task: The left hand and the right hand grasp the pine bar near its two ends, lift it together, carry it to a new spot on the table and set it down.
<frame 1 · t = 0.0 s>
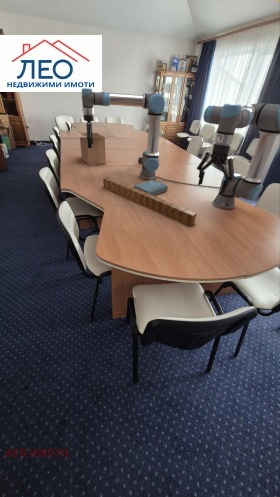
left hand: (90, 146, 173), 28 cm above the table, tool pointing down, fingers open, 13 cm apart
right hand: (210, 188, 114), 28 cm above the table, tool pointing down, fingers open, 13 cm apart
box: (93, 161, 237), on the table
book: (150, 191, 179), on the table
laser sight: (148, 164, 240), on the table
bar: (143, 203, 159), on the table
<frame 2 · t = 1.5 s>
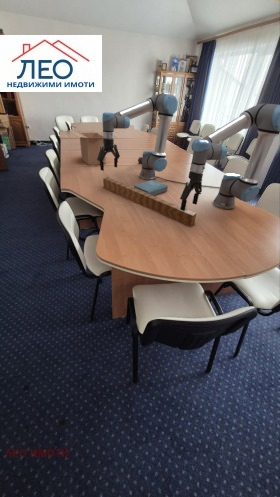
left hand: (109, 168, 169), 16 cm above the table, tool pointing down, fingers open, 13 cm apart
right hand: (188, 206, 134), 11 cm above the table, tool pointing down, fingers open, 13 cm apart
nothing on the table moved.
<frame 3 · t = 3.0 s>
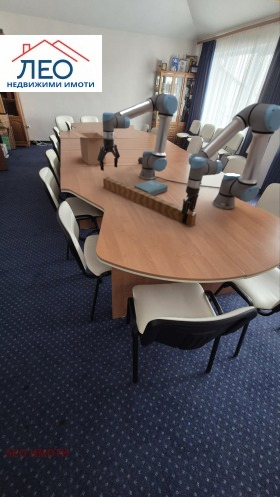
left hand: (109, 168, 169), 16 cm above the table, tool pointing down, fingers open, 13 cm apart
right hand: (185, 221, 140), 1 cm above the table, tool pointing down, fingers closed on bar, 5 cm apart
bar: (143, 203, 159), on the table, touching right hand
everything else where it was.
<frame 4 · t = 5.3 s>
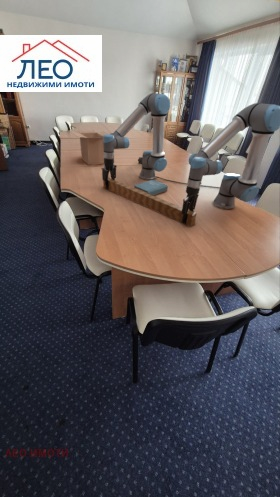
left hand: (109, 188, 178), 1 cm above the table, tool pointing down, fingers closed on bar, 5 cm apart
right hand: (185, 221, 140), 1 cm above the table, tool pointing down, fingers closed on bar, 5 cm apart
bar: (143, 203, 159), on the table, touching left hand, right hand
everything else where it was.
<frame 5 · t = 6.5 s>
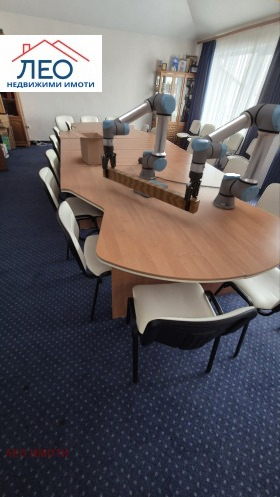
left hand: (109, 177, 172), 9 cm above the table, tool pointing down, fingers closed on bar, 5 cm apart
right hand: (188, 209, 135), 9 cm above the table, tool pointing down, fingers closed on bar, 5 cm apart
bar: (144, 192, 154), point 9 cm above the table, touching left hand, right hand
everything else where it was.
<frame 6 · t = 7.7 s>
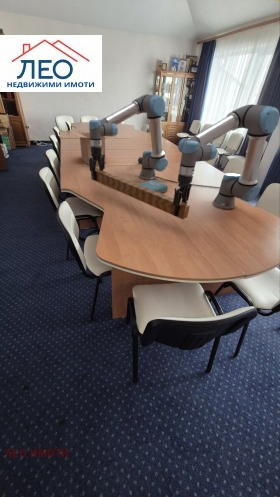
left hand: (97, 179, 165), 10 cm above the table, tool pointing down, fingers closed on bar, 4 cm apart
right hand: (178, 214, 128), 10 cm above the table, tool pointing down, fingers closed on bar, 5 cm apart
bar: (132, 195, 147), point 9 cm above the table, touching left hand, right hand
everything else where it was.
when the left hand's fingers open (1 cm above the table, at t = 10.1 s): bar stays where it is, on the table.
when the right hand's fingers open (1 cm above the table, at t = 10.1 s): bar stays where it is, on the table.
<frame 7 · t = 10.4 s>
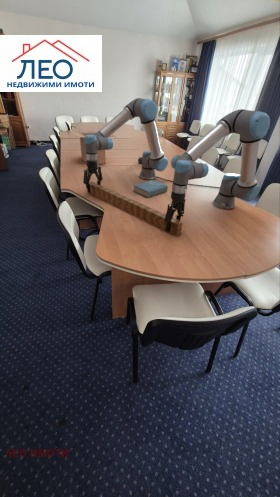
left hand: (93, 190, 167), 2 cm above the table, tool pointing down, fingers open, 9 cm apart
right hand: (172, 228, 129), 2 cm above the table, tool pointing down, fingers open, 9 cm apart
bar: (128, 210, 149), on the table
everything else where it was.
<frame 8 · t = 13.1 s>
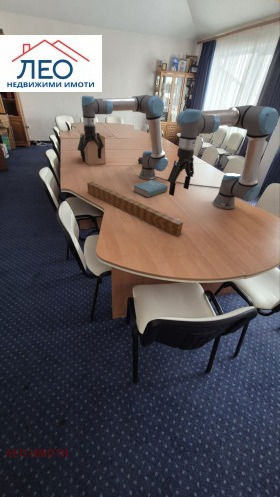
left hand: (91, 159, 153), 25 cm above the table, tool pointing down, fingers open, 13 cm apart
right hand: (178, 191, 116), 25 cm above the table, tool pointing down, fingers open, 13 cm apart
nothing on the table moved.
at the end: bar inside the target area (0.1 cm from its centre), on the table; bar tilted 0°; bar never tilted more than 2° during the clip; both hands held the bar at the same time; the left hand is holding nothing; the right hand is holding nothing; bar at rest at the end (0.0 cm/s) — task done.
